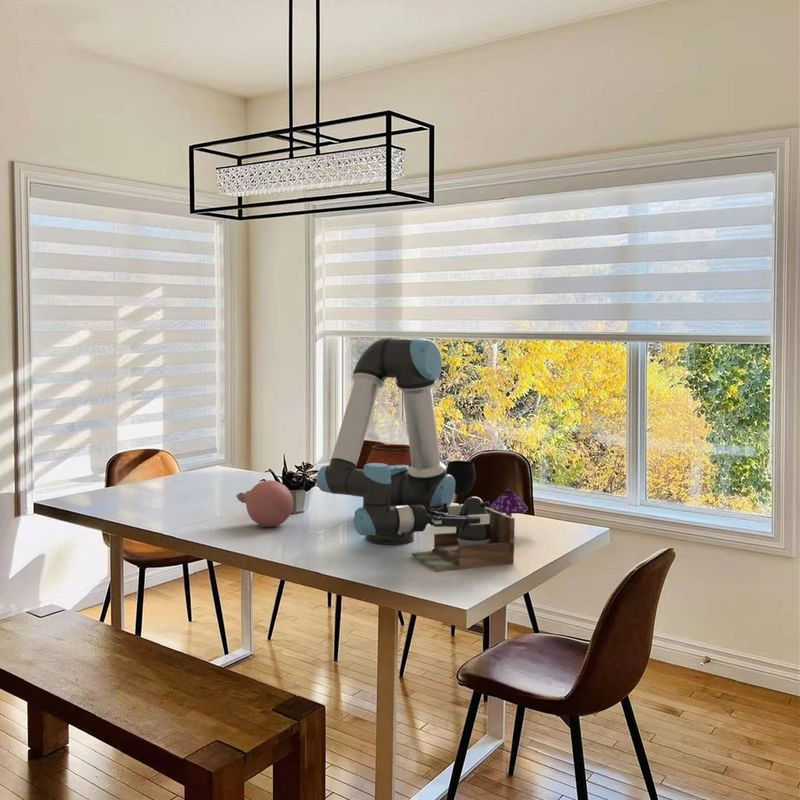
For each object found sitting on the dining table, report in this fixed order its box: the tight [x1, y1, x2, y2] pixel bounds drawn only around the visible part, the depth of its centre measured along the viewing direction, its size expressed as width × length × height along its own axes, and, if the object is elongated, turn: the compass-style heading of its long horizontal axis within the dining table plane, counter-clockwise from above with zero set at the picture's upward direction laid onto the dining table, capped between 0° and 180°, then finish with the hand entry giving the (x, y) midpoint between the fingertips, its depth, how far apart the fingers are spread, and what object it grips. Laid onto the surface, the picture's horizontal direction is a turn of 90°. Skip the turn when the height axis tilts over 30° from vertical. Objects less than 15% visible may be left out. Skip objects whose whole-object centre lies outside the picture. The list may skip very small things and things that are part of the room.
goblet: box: [365, 443, 412, 468], centre depth 301 cm, size 19×19×25 cm
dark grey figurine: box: [455, 496, 491, 546], centre depth 244 cm, size 10×10×15 cm
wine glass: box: [446, 460, 477, 516], centre depth 297 cm, size 10×10×20 cm
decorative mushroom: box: [489, 489, 529, 517], centre depth 274 cm, size 12×12×15 cm
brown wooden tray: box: [411, 506, 516, 572], centre depth 243 cm, size 17×24×13 cm
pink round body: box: [236, 479, 294, 528], centre depth 283 cm, size 15×20×15 cm
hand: (478, 513), depth 244 cm, fingers open, 13 cm apart
